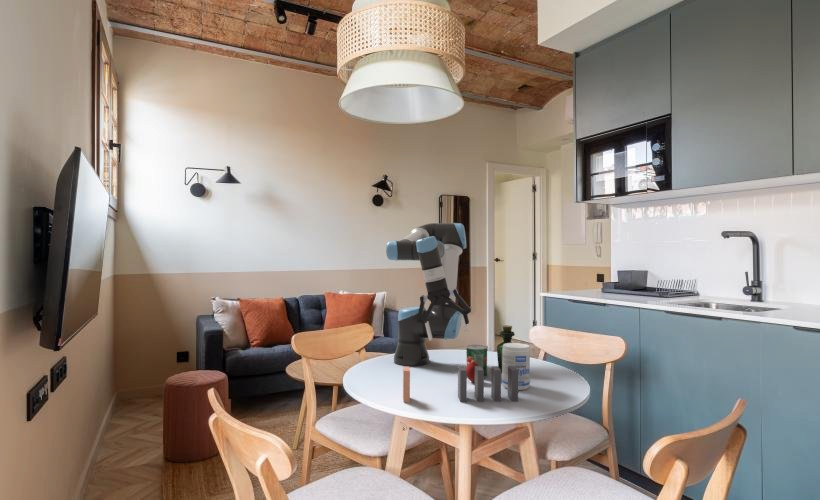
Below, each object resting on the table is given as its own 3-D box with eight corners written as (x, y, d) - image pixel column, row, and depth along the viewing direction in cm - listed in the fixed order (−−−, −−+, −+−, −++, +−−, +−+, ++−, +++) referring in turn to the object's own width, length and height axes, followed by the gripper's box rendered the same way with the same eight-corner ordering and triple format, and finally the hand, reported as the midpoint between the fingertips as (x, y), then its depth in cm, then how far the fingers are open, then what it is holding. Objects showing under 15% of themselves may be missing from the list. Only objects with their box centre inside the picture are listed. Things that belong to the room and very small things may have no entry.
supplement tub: (519, 392, 157) (520, 349, 157) (496, 386, 164) (496, 345, 164) (534, 386, 164) (535, 345, 164) (511, 381, 171) (512, 341, 171)
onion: (479, 380, 172) (480, 358, 172) (482, 384, 167) (482, 362, 167) (464, 379, 172) (464, 358, 172) (466, 384, 167) (466, 362, 167)
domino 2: (477, 401, 148) (477, 370, 148) (474, 396, 153) (474, 366, 153) (483, 401, 148) (483, 370, 148) (480, 396, 153) (480, 366, 153)
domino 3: (494, 401, 148) (494, 370, 148) (491, 396, 153) (491, 366, 153) (500, 401, 148) (501, 370, 148) (497, 396, 153) (497, 366, 153)
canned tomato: (491, 376, 177) (491, 347, 177) (475, 379, 173) (475, 349, 173) (477, 371, 184) (478, 343, 184) (462, 374, 180) (462, 346, 180)
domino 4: (511, 401, 148) (511, 370, 148) (507, 396, 153) (507, 366, 153) (517, 401, 148) (518, 370, 148) (513, 396, 153) (513, 366, 153)
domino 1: (460, 402, 148) (460, 370, 148) (457, 396, 153) (458, 366, 153) (466, 401, 148) (466, 370, 148) (463, 396, 153) (464, 366, 153)
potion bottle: (499, 374, 180) (500, 328, 180) (494, 369, 188) (494, 324, 188) (520, 374, 181) (520, 327, 180) (513, 368, 189) (514, 324, 189)
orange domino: (403, 402, 147) (403, 370, 147) (403, 397, 152) (403, 366, 152) (409, 402, 147) (409, 370, 147) (409, 397, 152) (409, 366, 152)
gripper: (399, 288, 167) (413, 345, 168) (467, 273, 161) (481, 333, 162) (405, 284, 175) (418, 339, 175) (470, 270, 168) (483, 327, 169)
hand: (448, 336), depth 169 cm, fingers open, 13 cm apart
